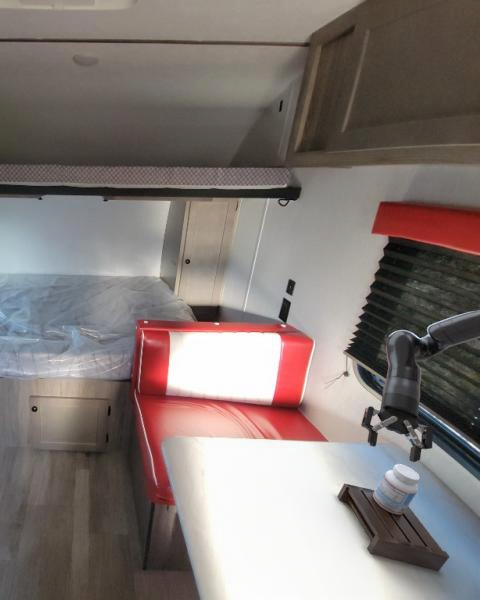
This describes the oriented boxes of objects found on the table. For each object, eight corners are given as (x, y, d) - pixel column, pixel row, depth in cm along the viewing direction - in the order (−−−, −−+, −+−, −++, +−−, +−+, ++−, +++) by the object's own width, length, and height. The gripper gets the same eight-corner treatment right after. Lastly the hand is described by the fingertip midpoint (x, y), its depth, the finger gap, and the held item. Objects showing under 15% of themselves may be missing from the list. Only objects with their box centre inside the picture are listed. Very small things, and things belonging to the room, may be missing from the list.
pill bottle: (391, 496, 87) (412, 464, 82) (409, 518, 81) (431, 485, 77) (366, 490, 87) (385, 458, 83) (382, 512, 82) (402, 479, 78)
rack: (394, 509, 89) (402, 496, 87) (438, 571, 75) (449, 556, 73) (337, 496, 91) (344, 483, 89) (369, 553, 77) (379, 539, 75)
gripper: (375, 384, 94) (365, 439, 89) (442, 404, 88) (436, 466, 83) (364, 390, 101) (354, 442, 96) (426, 410, 94) (419, 467, 89)
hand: (392, 453), depth 89 cm, fingers open, 8 cm apart
